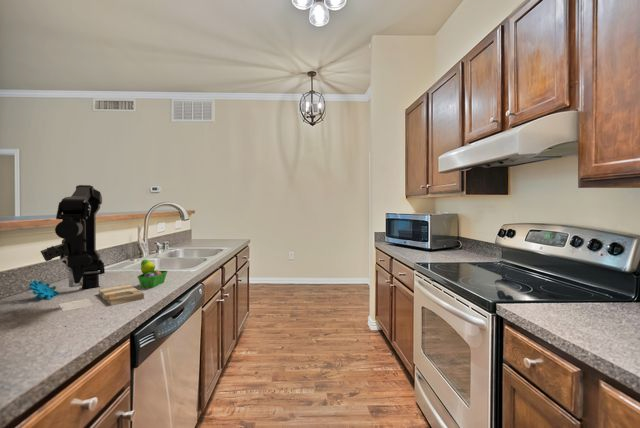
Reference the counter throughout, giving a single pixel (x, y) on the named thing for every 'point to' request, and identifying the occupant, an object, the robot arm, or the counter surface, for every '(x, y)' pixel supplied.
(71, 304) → the tab
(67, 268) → the peg
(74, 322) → the counter surface
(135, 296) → the rail plate
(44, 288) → the blue spiky lump
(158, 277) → the fruit basket
